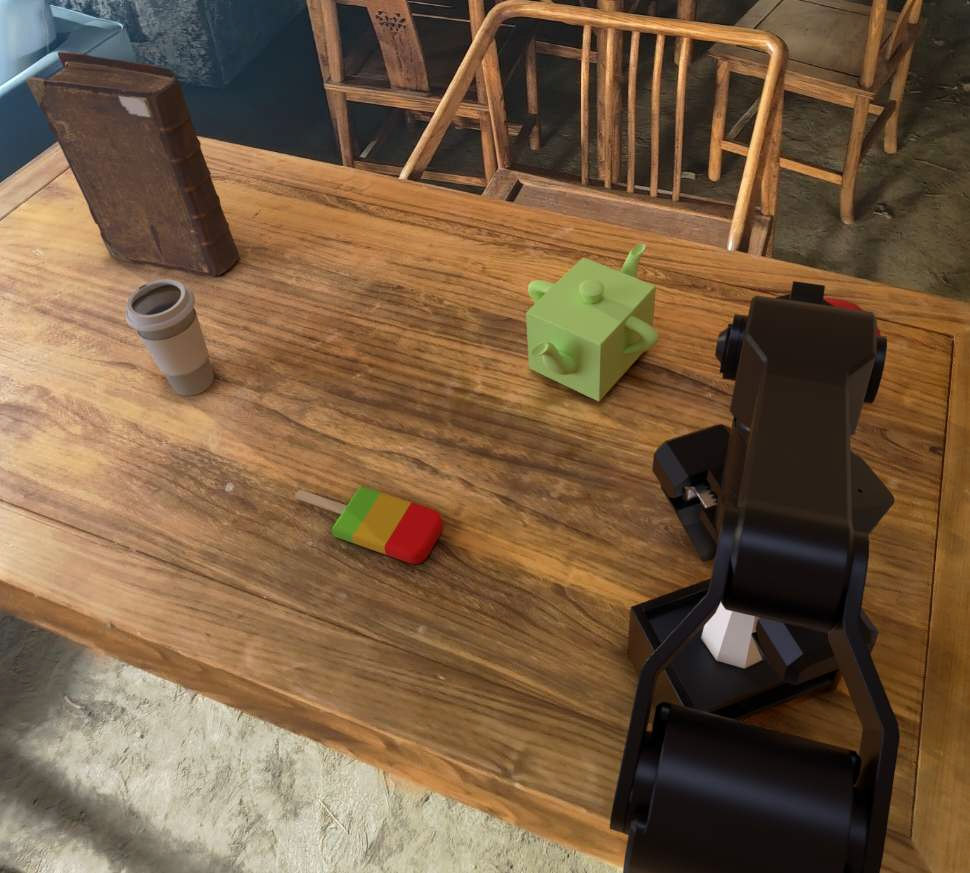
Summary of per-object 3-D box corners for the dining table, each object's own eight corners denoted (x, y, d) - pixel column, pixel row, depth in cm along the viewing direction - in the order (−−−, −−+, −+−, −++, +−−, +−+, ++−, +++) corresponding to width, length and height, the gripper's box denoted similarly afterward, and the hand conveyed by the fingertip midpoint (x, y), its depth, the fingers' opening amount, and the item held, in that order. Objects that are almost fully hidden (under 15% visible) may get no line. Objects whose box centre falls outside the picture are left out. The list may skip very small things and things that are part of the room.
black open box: (836, 689, 74) (857, 643, 68) (676, 751, 71) (685, 709, 66) (775, 598, 79) (791, 548, 74) (626, 653, 77) (630, 606, 71)
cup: (203, 350, 106) (168, 266, 96) (236, 377, 102) (203, 294, 93) (149, 383, 103) (108, 301, 93) (181, 413, 99) (142, 330, 90)
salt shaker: (764, 603, 72) (788, 521, 64) (780, 667, 69) (809, 588, 61) (694, 608, 73) (709, 526, 64) (707, 672, 69) (725, 594, 61)
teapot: (639, 309, 105) (644, 232, 97) (679, 392, 96) (689, 315, 88) (507, 335, 103) (501, 259, 95) (535, 422, 95) (532, 346, 87)
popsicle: (422, 569, 84) (419, 558, 83) (283, 520, 89) (278, 508, 87) (448, 523, 87) (446, 511, 86) (313, 478, 92) (309, 466, 91)
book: (247, 256, 116) (183, 67, 98) (213, 291, 112) (140, 101, 94) (144, 229, 122) (65, 44, 103) (108, 261, 118) (19, 75, 99)
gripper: (992, 552, 51) (914, 681, 63) (805, 338, 63) (769, 481, 75) (813, 618, 49) (767, 739, 61) (656, 385, 61) (643, 524, 73)
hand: (738, 608), depth 67 cm, fingers open, 9 cm apart
